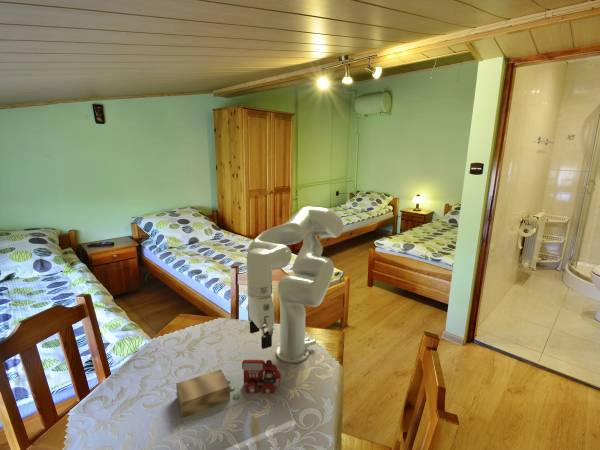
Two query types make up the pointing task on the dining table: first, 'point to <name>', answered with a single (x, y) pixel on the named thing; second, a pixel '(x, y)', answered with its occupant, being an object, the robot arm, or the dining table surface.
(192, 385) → the base brick
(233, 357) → the dining table surface
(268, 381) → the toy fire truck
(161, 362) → the dining table surface
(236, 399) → the build plate
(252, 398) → the dining table surface
